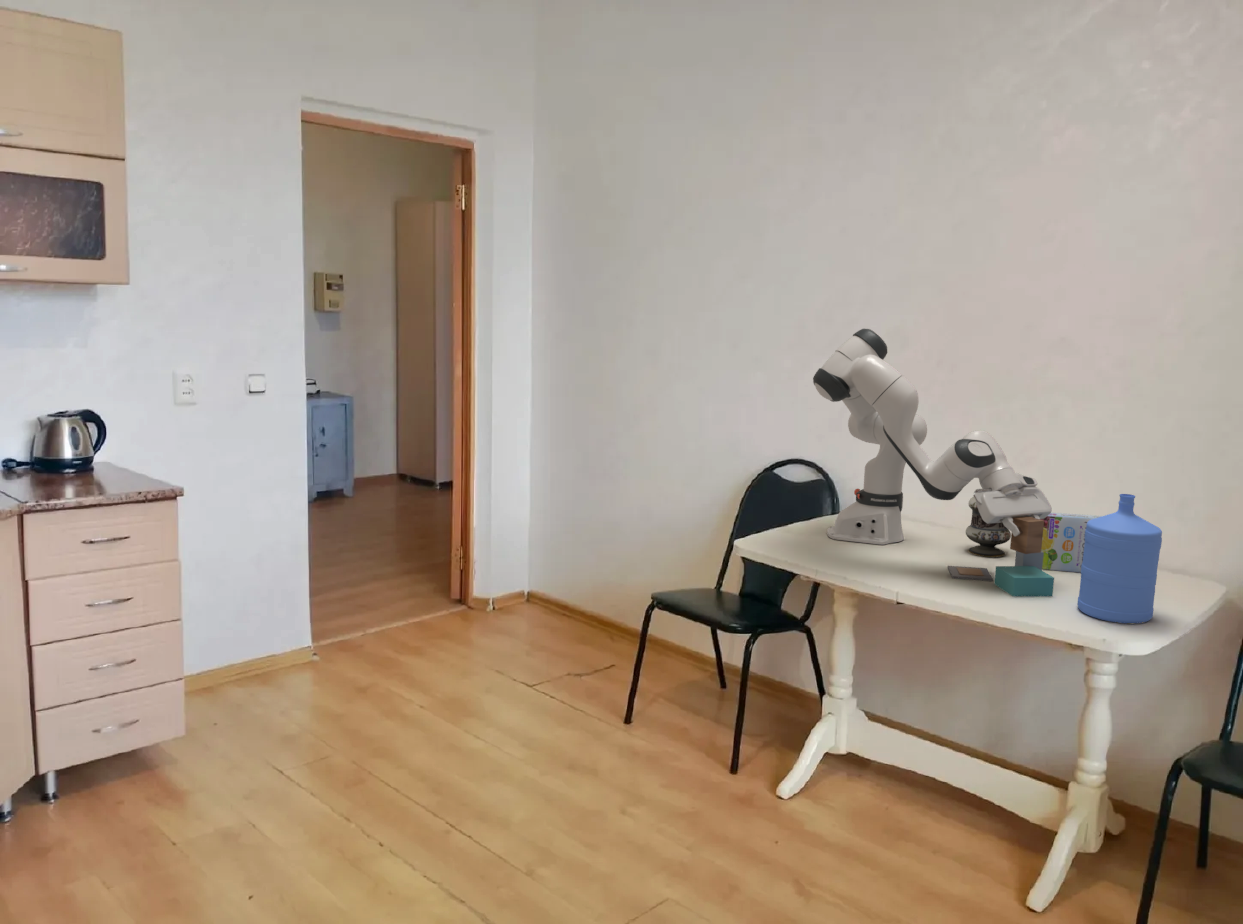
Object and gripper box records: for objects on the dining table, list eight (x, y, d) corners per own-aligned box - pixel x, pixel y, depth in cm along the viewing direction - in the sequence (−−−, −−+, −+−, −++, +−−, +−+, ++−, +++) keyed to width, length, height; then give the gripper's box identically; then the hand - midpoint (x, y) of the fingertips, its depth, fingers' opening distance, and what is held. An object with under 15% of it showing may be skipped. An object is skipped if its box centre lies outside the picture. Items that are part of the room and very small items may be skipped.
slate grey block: (1021, 582, 246) (1023, 552, 244) (1013, 576, 251) (1016, 546, 249) (1040, 582, 246) (1043, 552, 244) (1032, 577, 250) (1035, 547, 249)
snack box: (1109, 570, 258) (1115, 515, 255) (1113, 576, 253) (1120, 520, 250) (1024, 563, 264) (1029, 509, 261) (1027, 568, 258) (1032, 514, 256)
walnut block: (1010, 549, 238) (1013, 517, 237) (1025, 547, 240) (1028, 516, 239) (1025, 554, 234) (1028, 522, 232) (1040, 552, 236) (1044, 520, 234)
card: (952, 578, 248) (952, 575, 248) (947, 567, 257) (947, 564, 257) (993, 581, 246) (993, 578, 246) (986, 570, 256) (986, 567, 255)
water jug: (1131, 629, 211) (1145, 505, 207) (1063, 610, 224) (1075, 492, 219) (1165, 616, 221) (1180, 497, 216) (1098, 598, 233) (1110, 485, 228)
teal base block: (1012, 597, 234) (1014, 577, 233) (994, 585, 244) (995, 566, 243) (1052, 597, 234) (1054, 577, 234) (1032, 585, 244) (1034, 566, 243)
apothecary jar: (1002, 548, 279) (1007, 487, 276) (1014, 559, 267) (1020, 496, 264) (959, 546, 280) (964, 486, 277) (969, 557, 268) (975, 494, 265)
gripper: (978, 482, 236) (1004, 530, 229) (1040, 478, 244) (1067, 524, 237) (963, 496, 241) (988, 544, 234) (1024, 492, 249) (1051, 537, 242)
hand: (1028, 534), depth 236 cm, fingers closed on walnut block, 5 cm apart
